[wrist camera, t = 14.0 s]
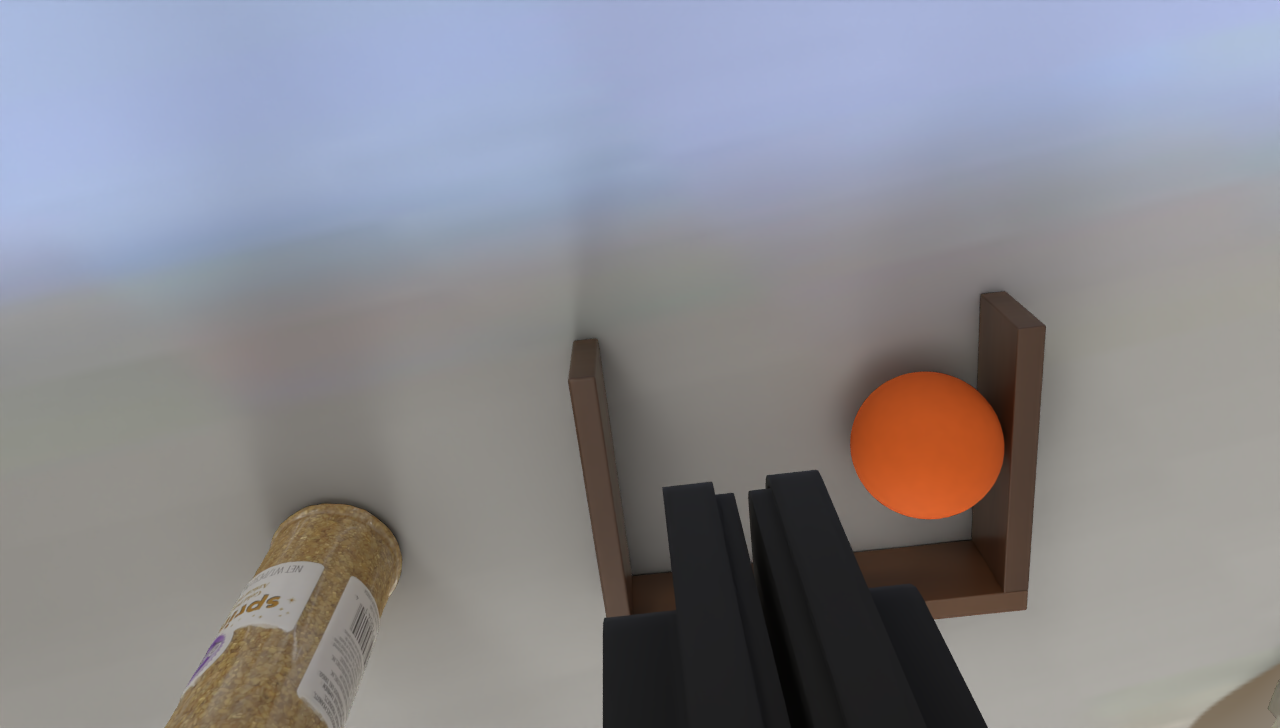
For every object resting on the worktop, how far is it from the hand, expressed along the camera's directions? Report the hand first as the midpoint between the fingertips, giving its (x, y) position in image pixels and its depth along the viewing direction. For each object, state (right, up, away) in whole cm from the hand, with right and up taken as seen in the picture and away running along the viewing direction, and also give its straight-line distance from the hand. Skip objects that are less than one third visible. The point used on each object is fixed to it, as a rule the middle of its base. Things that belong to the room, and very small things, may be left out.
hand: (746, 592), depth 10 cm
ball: (+8, 0, +18) cm, 20 cm away
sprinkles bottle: (-12, -4, +22) cm, 25 cm away
